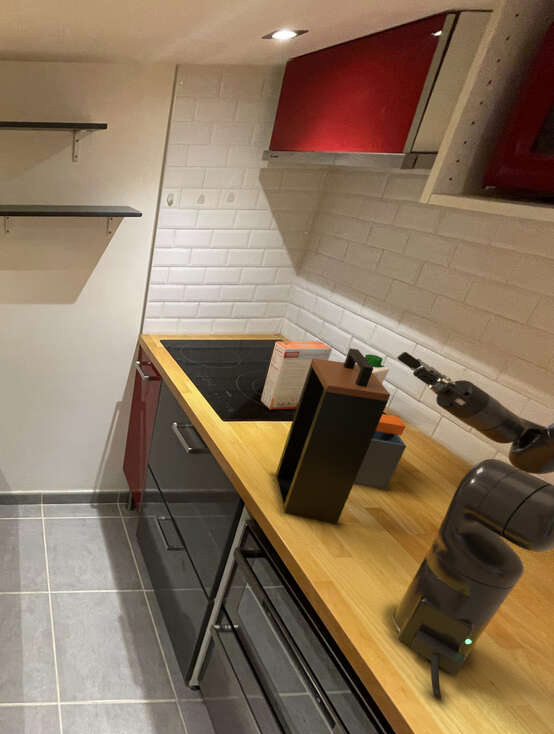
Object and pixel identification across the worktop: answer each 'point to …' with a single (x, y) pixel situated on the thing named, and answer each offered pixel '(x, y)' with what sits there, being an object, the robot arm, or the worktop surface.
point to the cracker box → (290, 372)
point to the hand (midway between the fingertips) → (408, 362)
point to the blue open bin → (380, 460)
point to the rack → (329, 436)
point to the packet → (390, 425)
